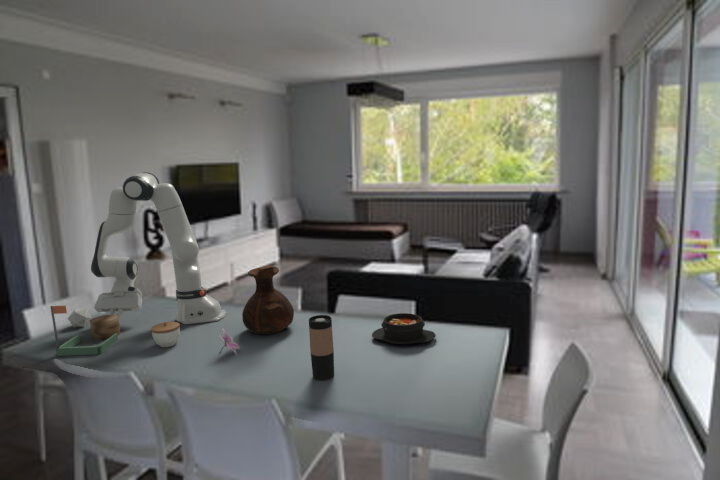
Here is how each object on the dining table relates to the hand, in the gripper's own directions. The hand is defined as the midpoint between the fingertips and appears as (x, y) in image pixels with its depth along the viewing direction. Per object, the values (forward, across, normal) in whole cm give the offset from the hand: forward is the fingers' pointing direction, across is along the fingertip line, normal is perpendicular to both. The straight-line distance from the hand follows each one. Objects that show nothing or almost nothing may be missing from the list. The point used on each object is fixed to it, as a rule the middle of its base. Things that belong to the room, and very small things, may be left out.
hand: (114, 319), depth 225 cm
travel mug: (+44, +98, -37) cm, 114 cm away
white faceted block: (-1, -19, +7) cm, 20 cm away
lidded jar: (+19, +32, -12) cm, 39 cm away
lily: (+27, +60, -21) cm, 69 cm away
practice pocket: (+19, 0, -13) cm, 23 cm away
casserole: (+22, +127, -16) cm, 130 cm away
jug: (+10, +71, -4) cm, 72 cm away
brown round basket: (+9, 0, -3) cm, 9 cm away
